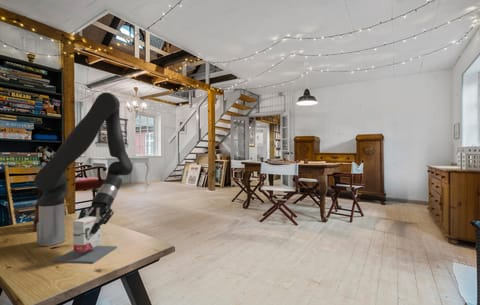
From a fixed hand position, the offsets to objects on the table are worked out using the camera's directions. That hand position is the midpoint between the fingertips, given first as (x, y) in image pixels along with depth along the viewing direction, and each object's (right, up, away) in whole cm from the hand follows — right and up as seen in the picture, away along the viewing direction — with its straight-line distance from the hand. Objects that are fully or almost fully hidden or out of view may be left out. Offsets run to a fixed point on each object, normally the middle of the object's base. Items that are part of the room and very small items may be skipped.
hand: (85, 232), depth 94 cm
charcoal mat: (0, -9, +1) cm, 9 cm away
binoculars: (-46, -9, +36) cm, 59 cm away
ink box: (0, -6, +1) cm, 7 cm away
